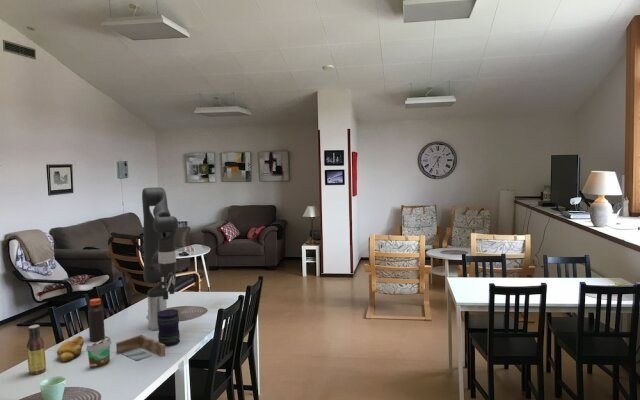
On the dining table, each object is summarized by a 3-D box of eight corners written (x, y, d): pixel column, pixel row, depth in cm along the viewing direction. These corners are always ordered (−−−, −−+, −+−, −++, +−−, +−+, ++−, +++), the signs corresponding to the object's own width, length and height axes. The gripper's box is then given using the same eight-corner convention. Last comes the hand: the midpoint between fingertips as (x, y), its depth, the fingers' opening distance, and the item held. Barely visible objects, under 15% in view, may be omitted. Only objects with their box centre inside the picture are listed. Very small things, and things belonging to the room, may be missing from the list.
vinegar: (108, 338, 233) (105, 298, 232) (96, 342, 227) (94, 302, 225) (98, 336, 236) (96, 297, 234) (86, 340, 230) (84, 300, 228)
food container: (100, 370, 196) (99, 347, 195) (87, 369, 197) (86, 346, 196) (118, 358, 208) (117, 336, 207) (106, 357, 209) (105, 335, 208)
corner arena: (116, 353, 213) (116, 342, 213) (141, 345, 223) (141, 334, 222) (139, 364, 201) (139, 353, 200) (165, 355, 210) (164, 344, 210)
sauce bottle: (33, 369, 198) (30, 323, 197) (49, 368, 199) (46, 322, 197) (25, 376, 192) (22, 328, 190) (41, 375, 192) (38, 328, 191)
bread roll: (73, 362, 204) (71, 345, 204) (50, 363, 204) (49, 345, 203) (86, 351, 217) (85, 334, 216) (65, 351, 217) (64, 335, 216)
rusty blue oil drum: (184, 340, 228) (182, 310, 227) (171, 347, 219) (170, 316, 218) (167, 338, 231) (165, 308, 230) (153, 345, 222) (152, 314, 221)
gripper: (164, 257, 216) (165, 292, 218) (153, 264, 202) (154, 301, 204) (180, 257, 216) (182, 292, 218) (170, 264, 202) (172, 301, 203)
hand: (168, 296), depth 211 cm, fingers open, 8 cm apart
